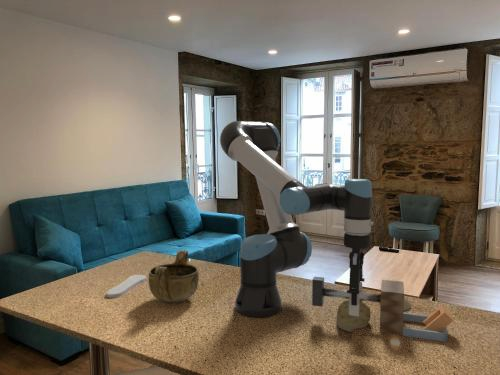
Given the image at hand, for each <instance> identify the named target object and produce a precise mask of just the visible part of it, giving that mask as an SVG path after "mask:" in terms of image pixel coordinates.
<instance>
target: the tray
mask: <svg viewBox="0 0 500 375" xmlns="http://www.w3.org/2000/svg"><path fill="white" fill-rule="evenodd" d="M429 316H430V315H426V314H420V313H419V314H417V313H410V312H404V315H403V322H412V323H413V322H414V323H419V324H424V323H423V321H424V320H425V319H426V318H428V317H429ZM402 336H403V337H410V338H417V339H423V340H430V341H431V340H432V341H439V342H446V343H448V341H449V337H448V336H449V334H448V330H447V326H446V327H445V328H444V329H443V330H441V331H440V332H437V331H430V330H425V329H420V328H413V327H406V326H403V335H402Z"/></svg>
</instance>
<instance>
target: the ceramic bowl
mask: <svg viewBox="0 0 500 375" xmlns="http://www.w3.org/2000/svg"><path fill="white" fill-rule="evenodd" d="M188 256H189V251H188V250H186V249H185V250H181V249H180V250H179V249H178V250H177V252H176V255H175V261H174V262H172V263H165V264H163V263H162V264H160V265H159V264H158V265H155V266H153V267H152V268H150V269H149V270H148V286H149V290H150V293H151V294H152V295H153V297H154V298H155V299H156V300H158V301H159V302H162V303H165V304H172V305H173V304H180V303H183V302H184V301H186V300H188V299H190V298H191V297H192V296H193V295H194V294H195V293H196V291H197V289H198V287H199V286H198V285H199V280H200V279H199V276H200V274H199V268H198V267H197V266H196V265H193V264H190V263H188V260H189V258H188Z"/></svg>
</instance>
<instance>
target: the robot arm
mask: <svg viewBox="0 0 500 375" xmlns="http://www.w3.org/2000/svg"><path fill="white" fill-rule="evenodd" d="M219 143H220V146H221V149H222V151H223V153H224V154H226V155H227V157H228V158H230V159H231V161H235V162H239V163H240V164H241V165H242V166H243V167H244V168H246V170H247V171H249V172H250V173H251V174H252V175H254V178H255V180H256V183H257V187H258V190H259V195H260V198H261V202H262V205H263V210H264V213H265V217H266V220H267V224H268V227H269V229H268V232H267V233H261V234H253V235H250V236H248V237H245V238H244V239H243V240H242V241H241V243H240V251H239V258H240V262H239V263H240V286H239V289H238V292H237V295H236V298H235V302H234V303H235V311H236V312H237V313H238V314H241V315H244V316H247V317H251V318H265V317H271V316H274V315H276V314H278V313H280V312H281V311H282V303H283V302H282V298H281V295H280V292H279V288H278V286H277V274H278V273H281V272H285V271H289V270H292V269H298V268H300V267H301V266H304V265H305V264H307V263H308V262H309V260H310V257H311V256H312V252H313V246H312V243H311V242H312V241H311V239H310V237H309V236H308V235H307V234H306V233H304V232H302V231H301V229H300V226H299V225H298V224H296V223H295V222H294V220H293V217H292V215H296V216H297V215H304V214H309V213H314V212H320V211H322V212H323V211H327V210H335V211H336V210H337V211H344V212H343V215H344V216H343V232H344V233H343V245H344V247H346V248H347V249H348V248H350V249H351V250H350V252H349V255H348V259H349V280H348V281H349V282H348V283H349V285H348V290H347V293H349V299H348V300H349V315H351V316H359V301H360V300H359V299H360V293H359V292H363V282H365V281H366V280H365V279H366V278H364V274H363V272H364V270H363V266H364V259H365V252H363V251H364V249H368V248H370V247H371V245H372V244H371V243H372V242H371V240H372V235H371V234H370V233H371V232H372V226H374V222H373V221H372V203H373V189H372V188H373V187H372V186H373V183H372V182H371V180H370V179H366V178H348V179H345V181H344V185H343V184H342V185H341V184H331V183H326V182H325V183H316V184H314V185H309V186H306V185H304V183H302V182H301V181H299V180H298V179H297V178H296V177H294V176H293V175H292V174H291V173H289V171H287V170H286V169H285V168H284V167H282V166H281V165H280V164H279V163H277V159H276V158H277V156H278V154H279V152H278V150H279V148H280V146H281V144H280V143H281V135H280V132H279V129H278V128H277V127H276V126H275V125H274V124H273V123H270V122H266V121H244V120H236V121H232V122H230V123H228V124H226V125H225V126H224V128H223V129H222V130H221V133H220V137H219ZM361 302H363V301H361Z"/></svg>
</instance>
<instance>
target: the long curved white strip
mask: <svg viewBox="0 0 500 375" xmlns="http://www.w3.org/2000/svg"><path fill="white" fill-rule="evenodd" d="M147 279H148V278H147V276H146V275H144V274H133V275H130V276H129V277H128V278H127V279H125V280H124V281H123V282H121V283H119V284H118V285H116V286H113V287H111V288H110V289H109V290H107V291H106V293H105V294H106V298H108V297H109V298H110V299H114V298H119V296H120V297H122V296H124V295H126V293H128V292H129V291H130V290H132V289H133V288H134V287H136V286H139V285H140V284H142V283H144V282H146V281H147ZM109 298H108V299H109Z"/></svg>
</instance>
